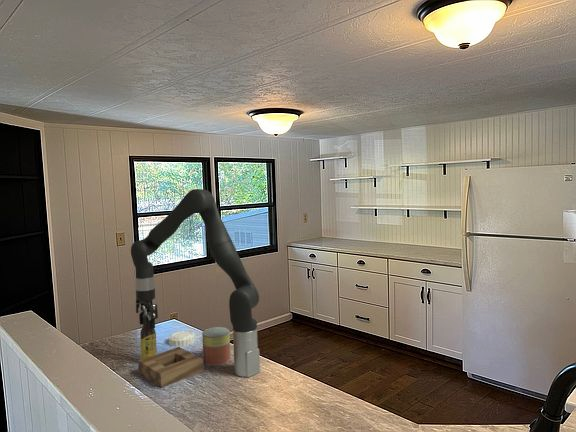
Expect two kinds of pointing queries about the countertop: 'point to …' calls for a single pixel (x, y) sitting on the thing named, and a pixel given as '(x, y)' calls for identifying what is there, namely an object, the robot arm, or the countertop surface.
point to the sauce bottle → (147, 339)
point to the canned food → (216, 346)
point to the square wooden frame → (170, 366)
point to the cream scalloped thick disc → (181, 338)
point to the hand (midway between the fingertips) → (147, 326)
